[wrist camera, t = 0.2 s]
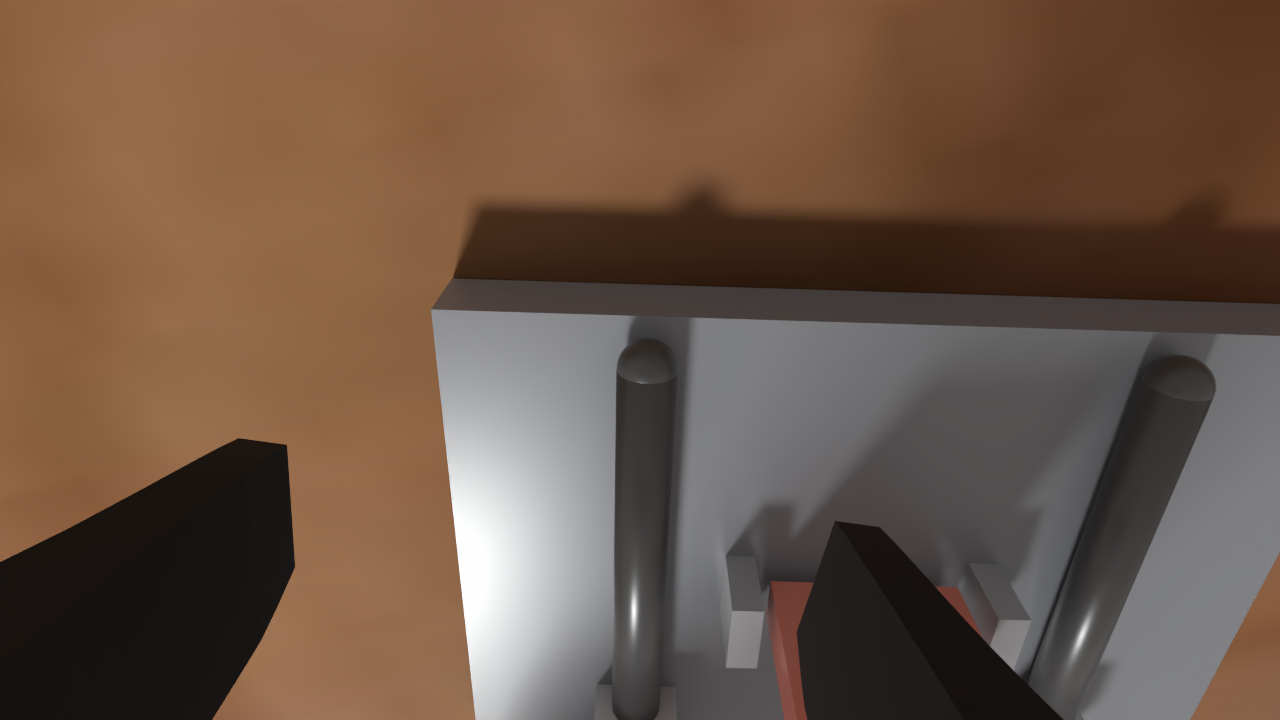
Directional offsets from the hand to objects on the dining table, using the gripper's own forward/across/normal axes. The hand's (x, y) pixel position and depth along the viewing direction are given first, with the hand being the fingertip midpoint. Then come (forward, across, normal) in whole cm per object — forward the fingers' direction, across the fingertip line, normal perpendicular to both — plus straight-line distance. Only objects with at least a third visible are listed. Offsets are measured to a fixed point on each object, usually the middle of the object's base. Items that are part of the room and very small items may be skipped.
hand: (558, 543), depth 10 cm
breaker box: (+10, -8, +7) cm, 15 cm away
